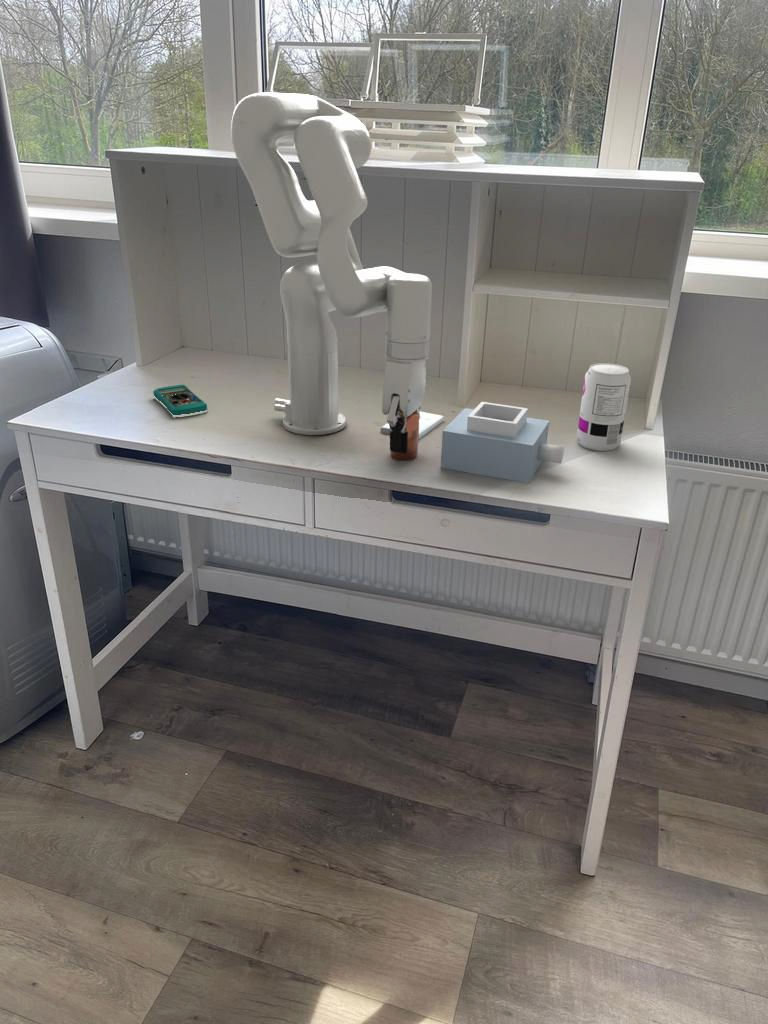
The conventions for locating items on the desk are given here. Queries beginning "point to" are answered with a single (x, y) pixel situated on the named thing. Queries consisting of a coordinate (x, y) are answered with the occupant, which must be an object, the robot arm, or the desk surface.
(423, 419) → the external hard drive
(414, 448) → the orange gas canister
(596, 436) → the supplement can
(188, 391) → the digital multimeter
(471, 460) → the gearbox
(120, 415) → the desk surface
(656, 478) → the desk surface
